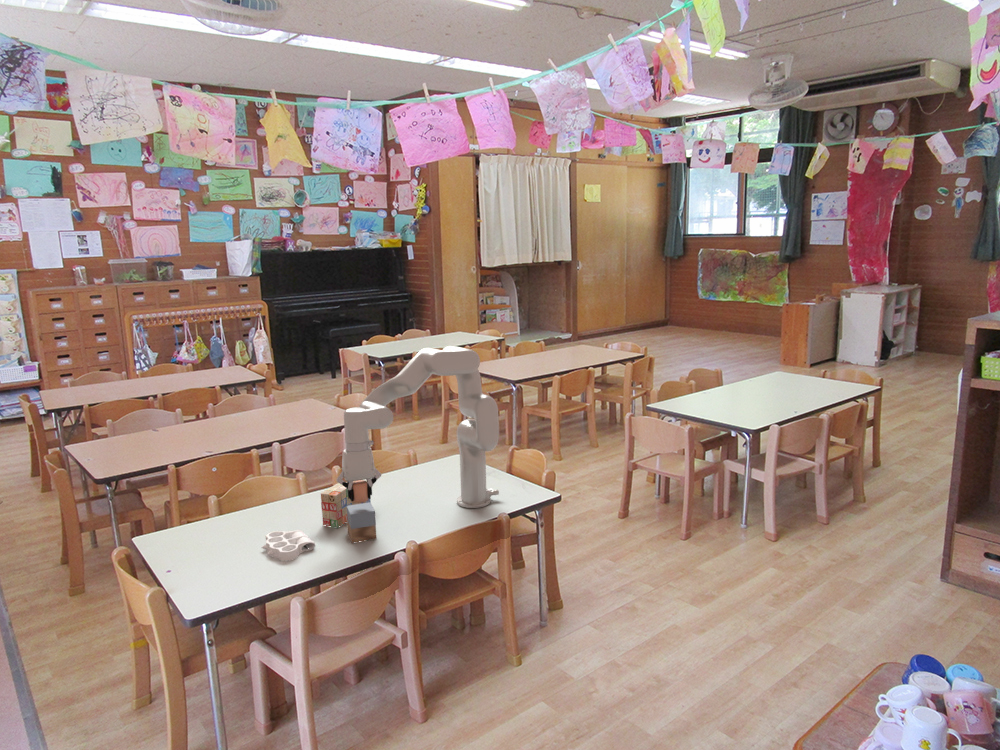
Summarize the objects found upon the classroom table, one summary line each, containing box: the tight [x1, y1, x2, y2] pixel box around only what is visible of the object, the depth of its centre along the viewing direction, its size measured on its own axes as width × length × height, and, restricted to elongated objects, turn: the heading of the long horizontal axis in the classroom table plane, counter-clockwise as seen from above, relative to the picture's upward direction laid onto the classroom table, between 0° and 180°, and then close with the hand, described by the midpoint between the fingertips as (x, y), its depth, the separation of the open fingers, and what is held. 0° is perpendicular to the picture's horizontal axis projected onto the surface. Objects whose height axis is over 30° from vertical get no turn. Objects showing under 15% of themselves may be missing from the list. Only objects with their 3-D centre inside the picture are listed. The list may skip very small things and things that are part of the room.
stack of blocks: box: [320, 481, 372, 529], centre depth 248 cm, size 21×6×12 cm, turn 159°
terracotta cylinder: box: [352, 479, 368, 503], centre depth 229 cm, size 5×5×6 cm
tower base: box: [346, 520, 377, 544], centre depth 232 cm, size 8×8×5 cm
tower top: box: [347, 502, 377, 529], centre depth 231 cm, size 8×8×5 cm
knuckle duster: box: [261, 529, 316, 562], centre depth 224 cm, size 3×18×15 cm
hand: (360, 498), depth 230 cm, fingers closed on terracotta cylinder, 4 cm apart
